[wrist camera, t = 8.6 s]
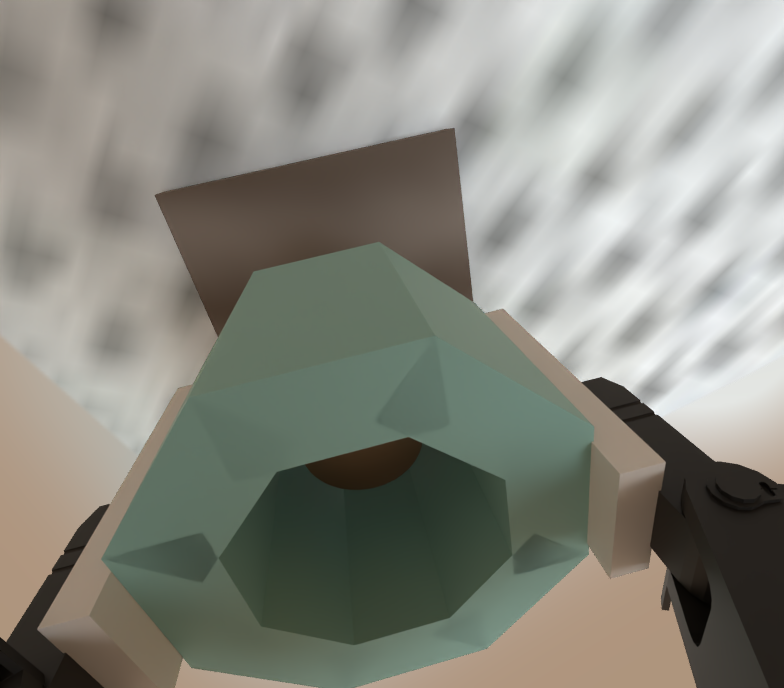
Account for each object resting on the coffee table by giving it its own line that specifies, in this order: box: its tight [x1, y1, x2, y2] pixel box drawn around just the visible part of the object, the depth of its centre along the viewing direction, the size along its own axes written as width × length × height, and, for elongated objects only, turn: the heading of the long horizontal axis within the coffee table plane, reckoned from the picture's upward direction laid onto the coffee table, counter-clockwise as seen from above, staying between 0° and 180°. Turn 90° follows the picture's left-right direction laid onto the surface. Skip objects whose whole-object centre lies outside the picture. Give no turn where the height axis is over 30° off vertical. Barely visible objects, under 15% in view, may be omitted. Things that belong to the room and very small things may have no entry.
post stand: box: [155, 128, 473, 490], centre depth 15 cm, size 12×12×11 cm
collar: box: [101, 242, 594, 688], centre depth 10 cm, size 8×8×6 cm
